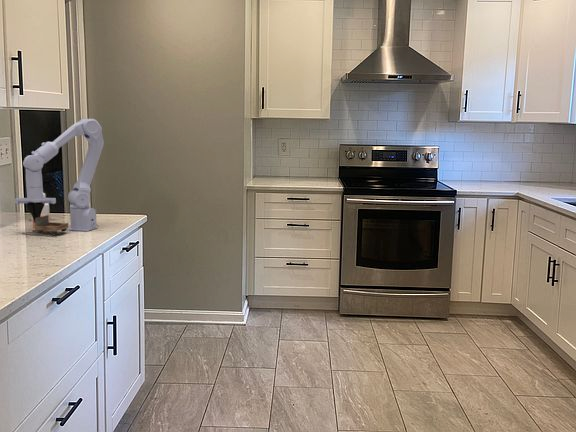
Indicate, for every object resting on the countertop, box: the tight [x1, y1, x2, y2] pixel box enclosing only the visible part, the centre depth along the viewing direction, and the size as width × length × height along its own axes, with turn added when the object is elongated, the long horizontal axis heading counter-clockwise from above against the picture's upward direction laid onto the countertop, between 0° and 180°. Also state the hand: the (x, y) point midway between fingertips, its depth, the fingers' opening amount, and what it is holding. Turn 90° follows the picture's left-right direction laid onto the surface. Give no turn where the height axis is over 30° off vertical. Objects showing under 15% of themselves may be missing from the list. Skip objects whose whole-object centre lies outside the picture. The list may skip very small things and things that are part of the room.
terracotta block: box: [32, 214, 50, 229], centre depth 232 cm, size 4×4×5 cm
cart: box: [34, 215, 70, 236], centre depth 219 cm, size 9×8×6 cm
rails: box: [21, 229, 64, 237], centre depth 220 cm, size 13×7×1 cm, turn 78°
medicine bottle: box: [30, 191, 51, 222], centre depth 248 cm, size 7×7×12 cm
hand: (36, 222), depth 220 cm, fingers closed
